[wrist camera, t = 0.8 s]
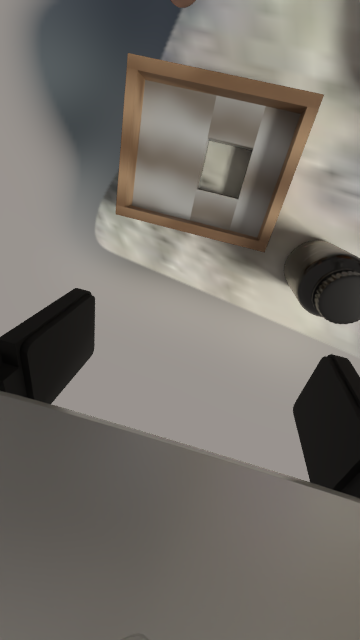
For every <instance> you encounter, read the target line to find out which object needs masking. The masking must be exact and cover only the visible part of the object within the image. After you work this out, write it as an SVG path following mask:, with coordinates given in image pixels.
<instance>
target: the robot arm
mask: <svg viewBox="0 0 360 640" xmlns="http://www.w3.org/2000/svg"><path fill="white" fill-rule="evenodd" d="M94 326H95V297H94V296H92V295H91V292H89V291H86V290H82V289H78V288H75V289H73V290H72V291H70V292H69V293H67V294H66V295H64V296H62V297H61V298H59V299H58V300H56V301H55V302H53V303H52V304H50V305H49V306H47V307H46V308H44V309H43V310H41V311H39V312H38V313H36V314H35V315H33V316H32V317H30V318H29V319H27V320H26V321H24V322H23V323H21V324H20V325H18V326H16V327H15V328H14V329H12V330H10V331H9V332H7V333H6V334H4V335H3V336H1V337H0V640H360V377H359V375H358V374H357V372H356V371H355V369H354V367H353V366H352V364H351V363H350V361H349V360H348V359H347V358H344V357H340V356H335V355H332V354H331V355H328V356H327V357H323V358H322V359H321V360H320V362H319V364H318V365H317V367H316V369H315V370H314V372H313V374H312V375H311V377H310V379H309V380H308V382H307V384H306V385H305V387H304V389H303V391H302V392H301V394H300V395H299V397H298V399H297V400H296V402H295V404H294V407H293V413H294V418H295V422H296V426H297V430H298V434H299V438H300V442H301V446H302V450H303V454H304V458H305V462H306V466H307V471H308V475H309V479H310V482H307V481H304V480H301V479H298V478H294V477H291V476H288V475H284V474H281V473H278V472H275V471H271V470H268V469H265V468H262V467H259V466H255V465H252V464H249V463H246V462H242V461H239V460H236V459H233V458H229V457H226V456H222V455H219V454H216V453H213V452H209V451H206V450H203V449H199V448H196V447H193V446H190V445H186V444H183V443H179V442H176V441H173V440H169V439H166V438H163V437H159V436H156V435H153V434H150V433H146V432H143V431H140V430H136V429H133V428H130V427H126V426H123V425H119V424H116V423H112V422H109V421H106V420H103V419H99V418H95V417H92V416H89V415H86V414H82V413H79V412H75V411H72V410H69V409H65V408H62V407H58V406H55V405H51V403H52V402H53V401H54V400H55V399H56V397H57V396H58V395H59V394H60V393H61V391H62V390H63V389H64V388H65V387H66V385H67V384H68V383H69V382H70V381H71V379H72V378H73V377H74V376H75V375H76V373H77V372H78V371H79V370H80V369H81V368H82V366H83V365H84V364H85V363H86V362H87V360H88V359H89V358H90V357H91V355H92V354H93V351H94V330H95V329H94V328H95V327H94Z"/></svg>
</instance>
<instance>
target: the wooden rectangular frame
mask: <svg viewBox="0 0 360 640" xmlns="http://www.w3.org/2000/svg"><path fill="white" fill-rule="evenodd" d="M323 96H324V95H323V94H318V93H313V92H309V91H304V90H299V89H295V88H290V87H285V86H281V85H276V84H271V83H266V82H262V81H257V80H252V79H248V78H243V77H238V76H233V75H229V74H224V73H219V72H215V71H210V70H205V69H200V68H196V67H191V66H186V65H182V64H177V63H172V62H167V61H163V60H158V59H153V58H149V57H144V56H139V55H134V54H130V53H128V60H127V72H126V85H125V98H124V111H123V124H122V137H121V150H120V163H119V176H118V189H117V202H116V214H117V215H121V216H125V217H129V218H133V219H137V220H141V221H145V222H149V223H152V224H156V225H160V226H164V227H168V228H172V229H176V230H180V231H184V232H187V233H191V234H195V235H199V236H203V237H207V238H211V239H215V240H218V241H222V242H226V243H230V244H234V245H238V246H242V247H246V248H250V249H253V250H257V251H261V252H265V250H266V247H267V245H268V242H269V239H270V237H271V234H272V231H273V229H274V226H275V223H276V221H277V218H278V216H279V213H280V210H281V208H282V205H283V202H284V200H285V197H286V194H287V192H288V189H289V186H290V184H291V181H292V178H293V176H294V173H295V170H296V168H297V165H298V162H299V160H300V157H301V154H302V152H303V149H304V147H305V144H306V141H307V139H308V136H309V133H310V131H311V128H312V125H313V123H314V120H315V117H316V115H317V112H318V109H319V107H320V104H321V101H322V99H323ZM209 141H213V142H218V143H222V144H226V145H231V146H235V147H239V148H244V149H248V150H252V153H251V157H250V160H249V163H248V167H247V170H246V174H245V177H244V180H243V184H242V187H241V191H240V194H239V198H238V199H237V198H233V197H229V196H225V195H221V194H217V193H213V192H209V191H205V190H201V189H199V185H200V180H201V176H202V171H203V167H204V162H205V157H206V153H207V148H208V144H209Z"/></svg>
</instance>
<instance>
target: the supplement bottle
mask: <svg viewBox="0 0 360 640" xmlns="http://www.w3.org/2000/svg"><path fill="white" fill-rule="evenodd" d="M284 275H285V278H286V281H287V283H288V284H289V286H290V288H291V289H292V291H293V293H294V294H295V296H296V298H297V299H298V301H299V303H300V304H301V305H302V307H303V308H304V309H305V310H307V311H308V312H309V313H311V314H313V315H316V316H319V317H324V318H325V319H326V320H329V321H330V322H333V323H335V324H337V323H338V324H348V323H353V322H356V321H358V320H360V258H358V257H357V256H355V255H353V254H351V253H349V252H347V251H345V250H343V249H341V248H339V247H337V246H335V245H333V244H331V243H329V242H326V241H321V240H314V241H309V242H306V243H303V244H301V245H300V246H298V247H297V248H295V249H294V250H293V251H292V252H291V254H290V255H289V256H288V258H287V260H286V263H285V266H284Z"/></svg>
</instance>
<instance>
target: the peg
mask: <svg viewBox="0 0 360 640" xmlns="http://www.w3.org/2000/svg"><path fill="white" fill-rule="evenodd" d="M195 1H196V0H171V2H172V3H173V4H174V5H176V6H177V7H181V8H185V7H188V6H190V5H191V4H193V3H194V2H195Z"/></svg>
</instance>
